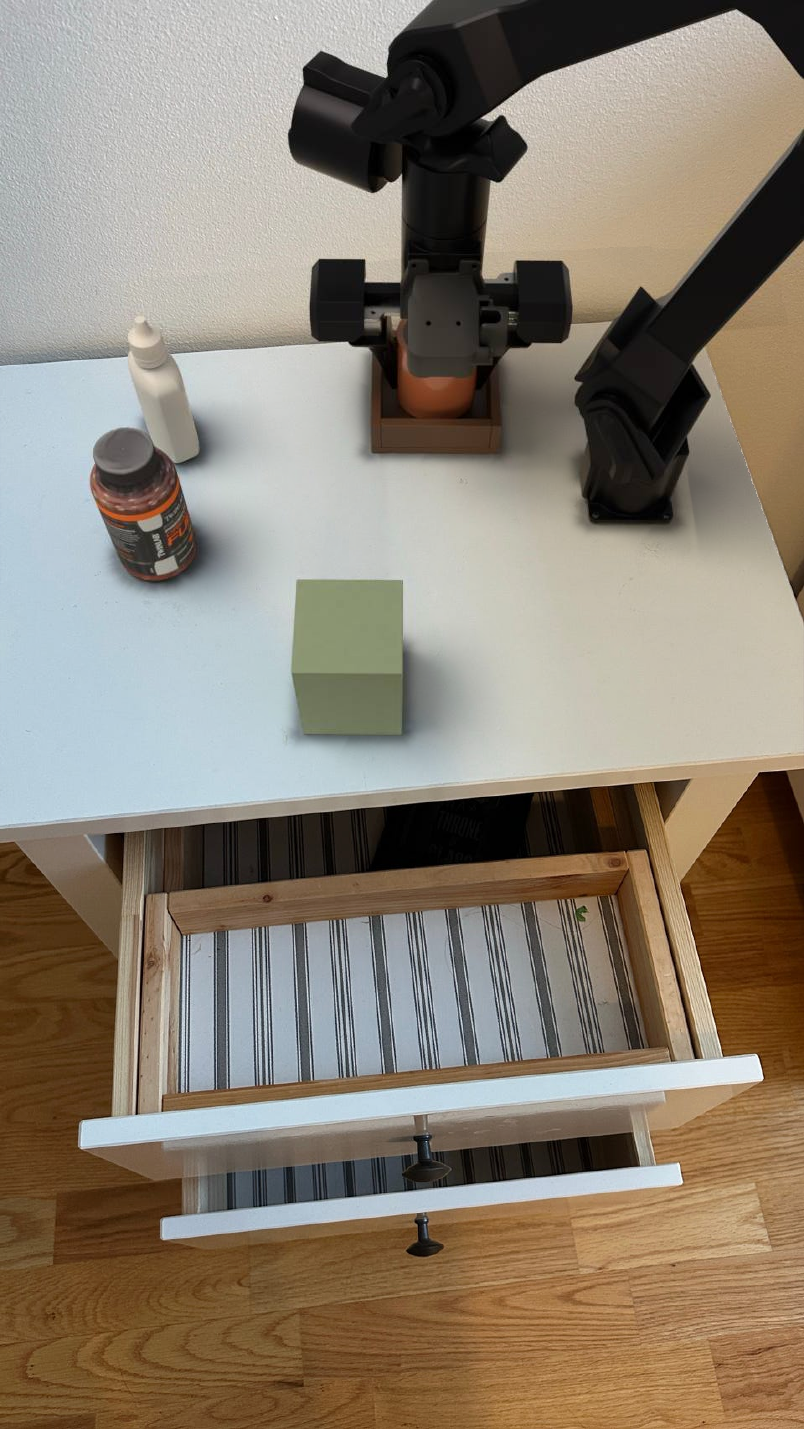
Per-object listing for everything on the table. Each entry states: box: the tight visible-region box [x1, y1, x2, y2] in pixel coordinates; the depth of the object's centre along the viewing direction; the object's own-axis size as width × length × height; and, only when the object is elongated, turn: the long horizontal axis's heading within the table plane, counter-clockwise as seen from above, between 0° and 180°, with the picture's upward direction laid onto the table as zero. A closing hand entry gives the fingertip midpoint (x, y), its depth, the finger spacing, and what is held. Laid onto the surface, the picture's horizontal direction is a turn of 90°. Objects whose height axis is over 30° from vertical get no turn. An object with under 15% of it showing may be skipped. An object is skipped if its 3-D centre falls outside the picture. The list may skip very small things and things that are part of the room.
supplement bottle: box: [89, 426, 198, 582], centre depth 69 cm, size 6×6×11 cm
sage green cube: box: [290, 578, 404, 736], centre depth 65 cm, size 7×7×9 cm
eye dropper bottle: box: [127, 315, 200, 464], centre depth 74 cm, size 4×6×12 cm
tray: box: [370, 329, 503, 454], centre depth 79 cm, size 10×10×3 cm
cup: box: [396, 319, 478, 419], centre depth 77 cm, size 6×6×6 cm
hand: (435, 385), depth 79 cm, fingers closed on cup, 6 cm apart
